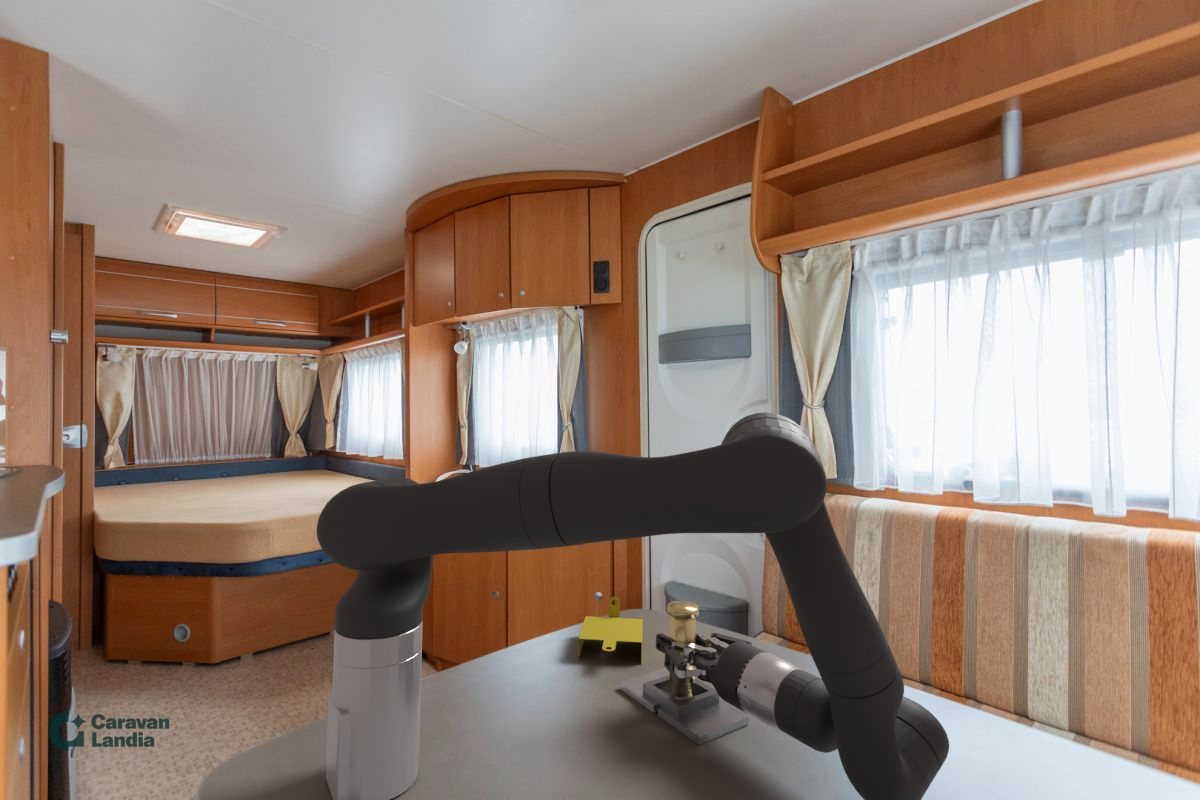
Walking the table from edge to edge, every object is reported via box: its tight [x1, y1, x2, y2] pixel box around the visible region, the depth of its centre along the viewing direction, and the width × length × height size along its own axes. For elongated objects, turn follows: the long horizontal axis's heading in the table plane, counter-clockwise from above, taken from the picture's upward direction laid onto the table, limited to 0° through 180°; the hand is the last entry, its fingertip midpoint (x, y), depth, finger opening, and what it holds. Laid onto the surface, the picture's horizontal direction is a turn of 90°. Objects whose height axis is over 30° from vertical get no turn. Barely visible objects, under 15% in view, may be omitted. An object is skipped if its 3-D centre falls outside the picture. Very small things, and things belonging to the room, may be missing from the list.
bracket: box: [577, 596, 644, 665], centre depth 99 cm, size 16×8×15 cm
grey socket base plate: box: [618, 667, 750, 746], centre depth 82 cm, size 9×17×2 cm, turn 34°
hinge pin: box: [666, 600, 700, 698], centre depth 82 cm, size 4×4×12 cm
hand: (669, 637), depth 85 cm, fingers closed on hinge pin, 3 cm apart
